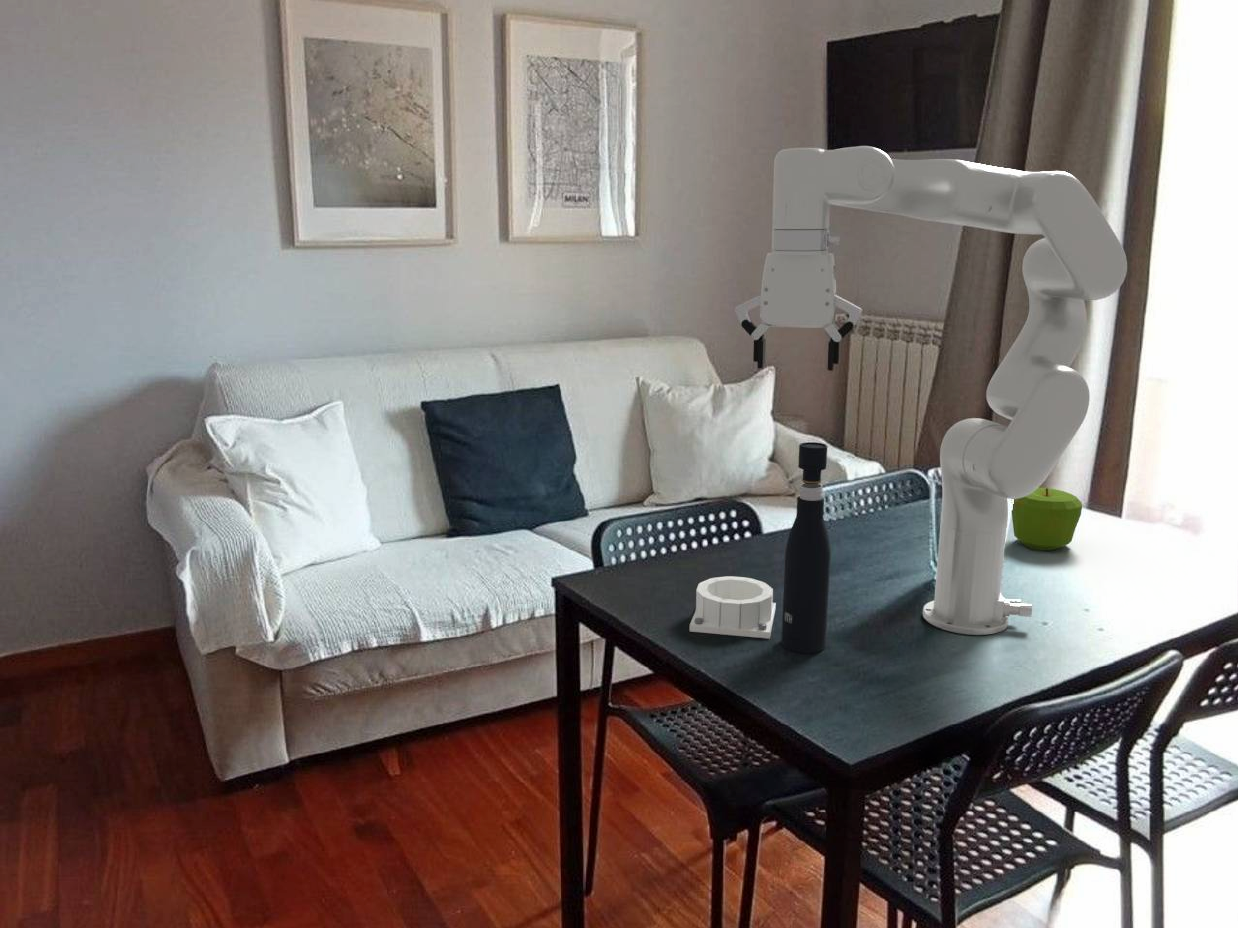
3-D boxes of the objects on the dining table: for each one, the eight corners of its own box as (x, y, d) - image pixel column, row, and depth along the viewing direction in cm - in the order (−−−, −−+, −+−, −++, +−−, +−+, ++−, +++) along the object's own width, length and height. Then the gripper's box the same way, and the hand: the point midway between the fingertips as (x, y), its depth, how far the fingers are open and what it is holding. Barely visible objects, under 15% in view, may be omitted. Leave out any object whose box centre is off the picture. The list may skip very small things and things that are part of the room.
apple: (1088, 556, 190) (1095, 497, 187) (1021, 555, 190) (1027, 496, 187) (1060, 535, 202) (1066, 479, 199) (998, 534, 202) (1003, 479, 199)
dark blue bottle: (830, 640, 152) (841, 442, 145) (819, 656, 147) (830, 452, 139) (788, 632, 155) (797, 438, 148) (775, 648, 149) (784, 447, 142)
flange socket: (775, 608, 164) (776, 579, 163) (769, 638, 153) (770, 607, 152) (700, 602, 167) (701, 573, 166) (689, 631, 155) (690, 600, 154)
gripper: (866, 242, 141) (860, 366, 145) (740, 242, 145) (738, 362, 150) (864, 244, 134) (858, 374, 138) (732, 244, 138) (730, 370, 143)
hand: (795, 368), depth 144 cm, fingers open, 9 cm apart
